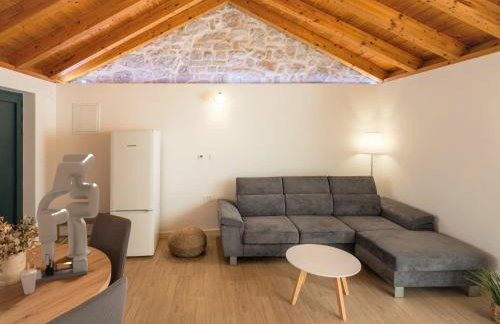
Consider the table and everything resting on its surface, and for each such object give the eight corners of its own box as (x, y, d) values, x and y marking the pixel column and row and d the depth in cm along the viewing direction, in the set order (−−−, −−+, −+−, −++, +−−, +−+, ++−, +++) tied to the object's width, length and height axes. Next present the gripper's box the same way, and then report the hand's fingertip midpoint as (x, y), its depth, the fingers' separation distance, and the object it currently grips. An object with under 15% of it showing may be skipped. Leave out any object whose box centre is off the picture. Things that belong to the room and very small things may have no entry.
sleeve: (74, 268, 159) (73, 257, 159) (87, 266, 162) (86, 255, 161) (73, 273, 154) (72, 261, 153) (86, 270, 156) (86, 259, 156)
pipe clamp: (45, 268, 162) (43, 256, 162) (52, 268, 161) (50, 256, 161) (24, 278, 150) (22, 266, 150) (31, 278, 149) (29, 266, 149)
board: (35, 276, 153) (34, 274, 152) (87, 267, 163) (87, 265, 163) (31, 283, 145) (31, 281, 145) (87, 273, 156) (87, 271, 156)
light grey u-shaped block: (35, 274, 152) (35, 265, 151) (43, 273, 153) (42, 264, 153) (33, 280, 146) (32, 270, 146) (41, 278, 148) (40, 269, 147)
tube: (41, 272, 152) (40, 265, 151) (77, 266, 159) (77, 259, 158) (39, 275, 148) (39, 268, 148) (77, 269, 155) (77, 262, 155)
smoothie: (24, 297, 133) (22, 266, 132) (18, 293, 136) (15, 263, 135) (40, 291, 138) (39, 261, 137) (34, 287, 142) (32, 258, 140)
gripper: (41, 233, 156) (43, 268, 158) (35, 244, 141) (38, 282, 143) (58, 231, 159) (60, 265, 161) (54, 241, 144) (56, 278, 146)
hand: (50, 273), depth 152 cm, fingers closed on tube, 3 cm apart
